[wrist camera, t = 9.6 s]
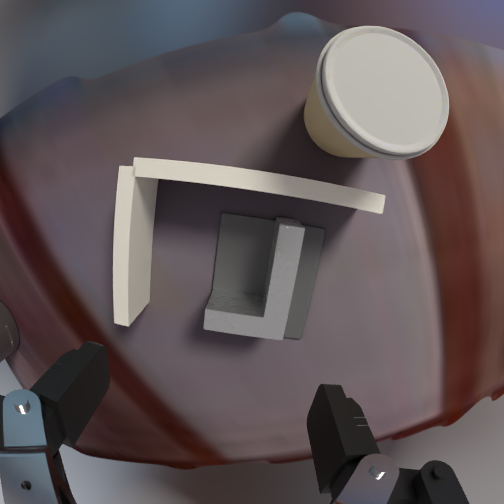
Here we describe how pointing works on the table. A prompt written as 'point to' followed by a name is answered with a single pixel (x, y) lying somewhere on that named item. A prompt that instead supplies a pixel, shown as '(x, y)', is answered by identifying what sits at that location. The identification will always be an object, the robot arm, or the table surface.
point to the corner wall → (150, 170)
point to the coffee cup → (376, 96)
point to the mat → (265, 263)
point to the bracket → (274, 297)
